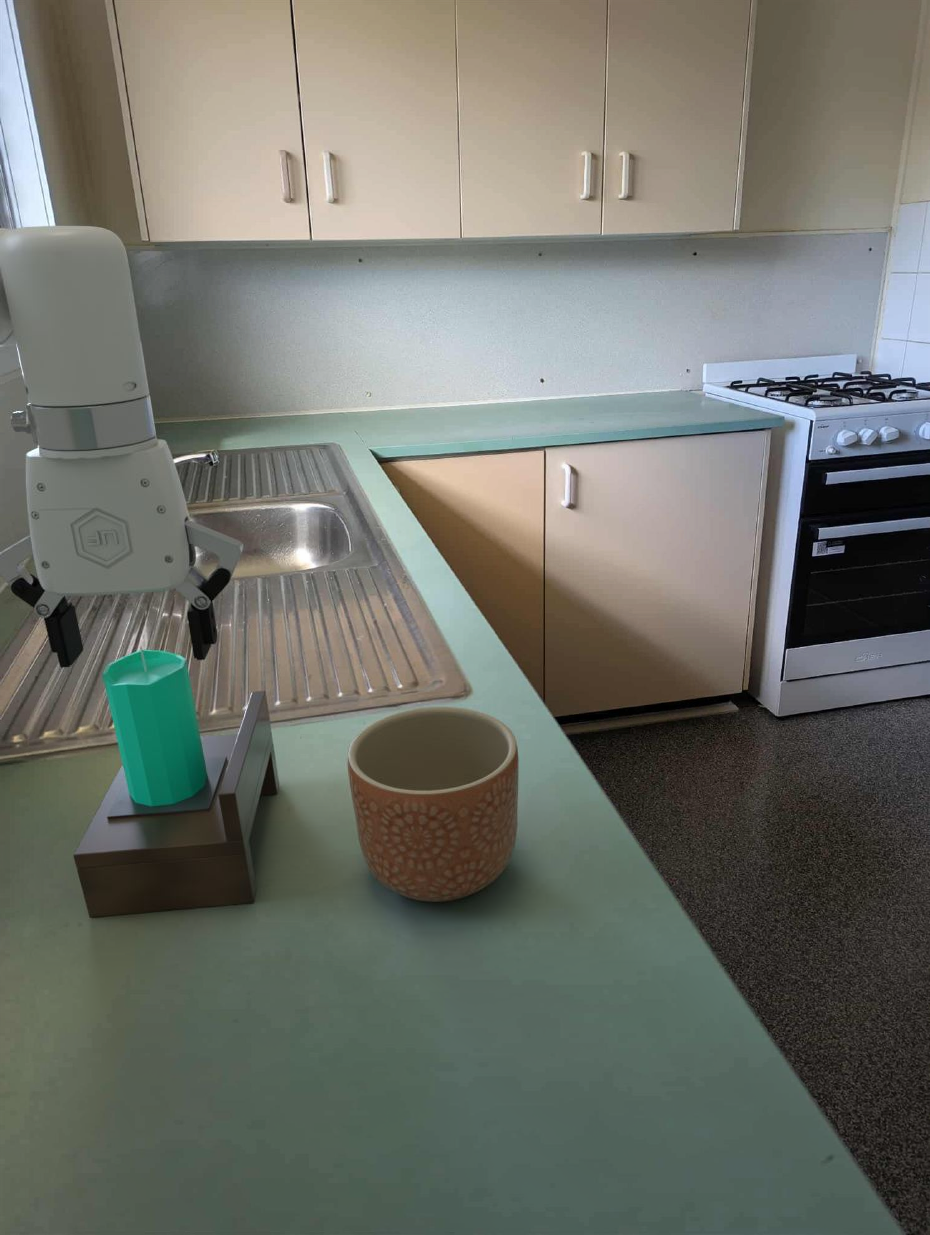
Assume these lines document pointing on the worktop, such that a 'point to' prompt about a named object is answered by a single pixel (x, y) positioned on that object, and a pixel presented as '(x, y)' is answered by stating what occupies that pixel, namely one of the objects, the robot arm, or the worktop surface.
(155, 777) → the candle
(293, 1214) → the worktop surface
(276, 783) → the wooden chair-shaped stand
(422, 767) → the planter
